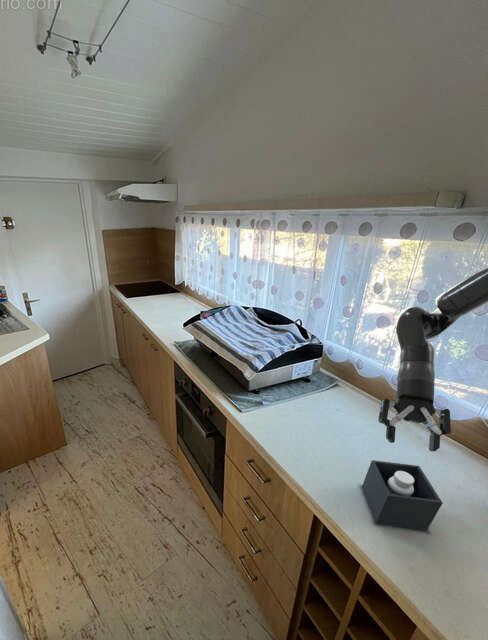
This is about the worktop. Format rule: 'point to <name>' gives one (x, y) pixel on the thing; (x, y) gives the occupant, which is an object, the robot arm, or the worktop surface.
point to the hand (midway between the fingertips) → (411, 446)
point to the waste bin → (400, 497)
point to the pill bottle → (401, 484)
